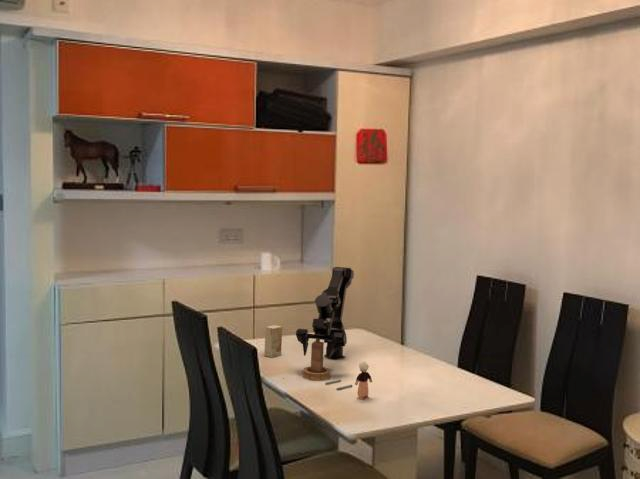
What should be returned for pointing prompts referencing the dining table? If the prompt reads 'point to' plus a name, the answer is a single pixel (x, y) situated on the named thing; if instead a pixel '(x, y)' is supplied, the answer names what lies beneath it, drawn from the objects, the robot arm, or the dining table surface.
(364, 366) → the grandmother figurine
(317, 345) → the brown wooden peg
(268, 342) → the skincare box
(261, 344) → the dining table surface
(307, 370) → the bead ring
